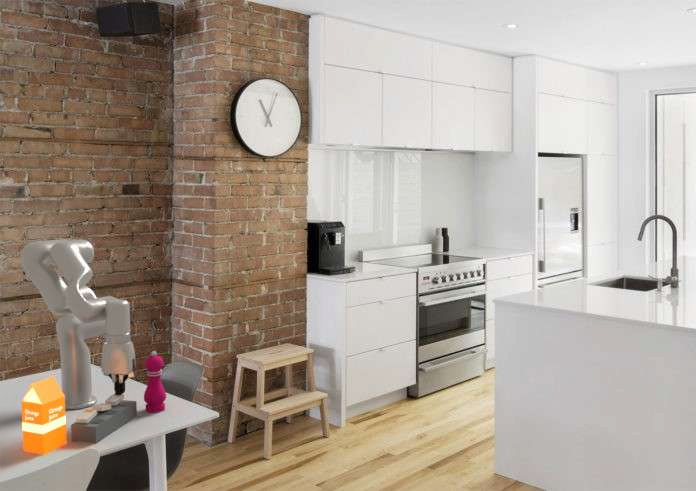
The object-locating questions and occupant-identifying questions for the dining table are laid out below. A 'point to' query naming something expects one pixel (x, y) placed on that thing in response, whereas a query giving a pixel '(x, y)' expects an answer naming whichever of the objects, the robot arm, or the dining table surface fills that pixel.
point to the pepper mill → (154, 384)
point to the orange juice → (43, 417)
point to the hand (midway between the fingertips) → (120, 393)
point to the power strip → (104, 422)
